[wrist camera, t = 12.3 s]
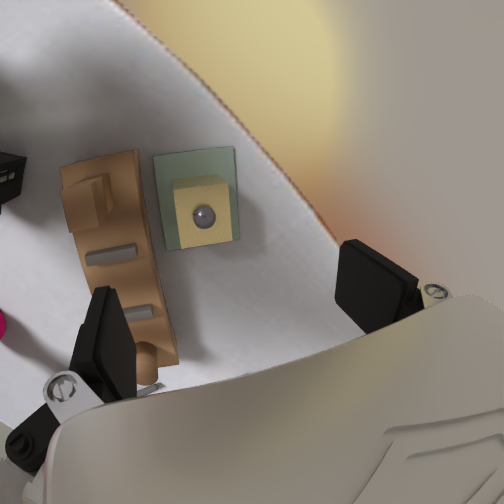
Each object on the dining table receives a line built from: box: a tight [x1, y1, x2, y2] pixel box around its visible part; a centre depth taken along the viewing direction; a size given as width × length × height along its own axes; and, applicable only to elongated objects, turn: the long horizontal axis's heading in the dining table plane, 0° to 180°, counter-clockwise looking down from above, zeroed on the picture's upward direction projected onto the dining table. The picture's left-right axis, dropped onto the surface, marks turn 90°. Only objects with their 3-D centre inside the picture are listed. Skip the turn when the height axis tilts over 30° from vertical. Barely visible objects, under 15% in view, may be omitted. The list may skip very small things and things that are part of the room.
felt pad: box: [153, 147, 240, 251], centre depth 28 cm, size 10×8×1 cm
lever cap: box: [172, 174, 232, 249], centre depth 25 cm, size 5×4×7 cm
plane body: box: [60, 149, 179, 385], centre depth 24 cm, size 24×7×10 cm, turn 3°
